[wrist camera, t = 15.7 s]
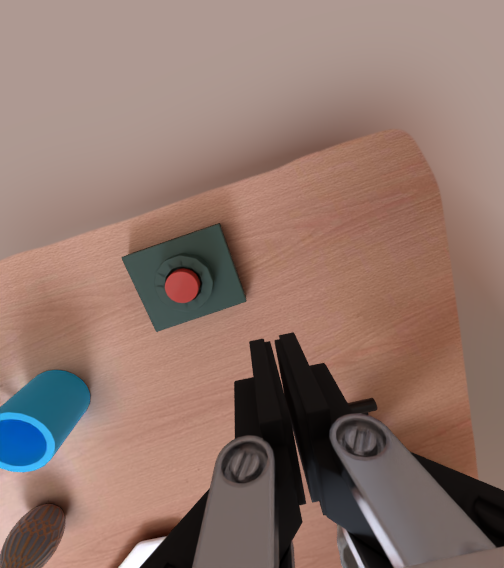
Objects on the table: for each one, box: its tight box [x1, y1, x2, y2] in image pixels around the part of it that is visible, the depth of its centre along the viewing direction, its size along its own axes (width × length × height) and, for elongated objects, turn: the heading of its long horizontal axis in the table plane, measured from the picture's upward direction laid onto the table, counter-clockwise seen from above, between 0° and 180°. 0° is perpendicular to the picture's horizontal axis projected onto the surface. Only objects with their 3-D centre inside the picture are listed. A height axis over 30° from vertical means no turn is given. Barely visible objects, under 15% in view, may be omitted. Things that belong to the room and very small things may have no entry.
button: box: [165, 268, 200, 303], centre depth 31 cm, size 4×4×2 cm
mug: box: [0, 370, 90, 472], centre depth 35 cm, size 12×8×8 cm
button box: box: [122, 223, 246, 332], centre depth 34 cm, size 12×10×4 cm
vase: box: [0, 504, 65, 568], centre depth 40 cm, size 7×7×9 cm
